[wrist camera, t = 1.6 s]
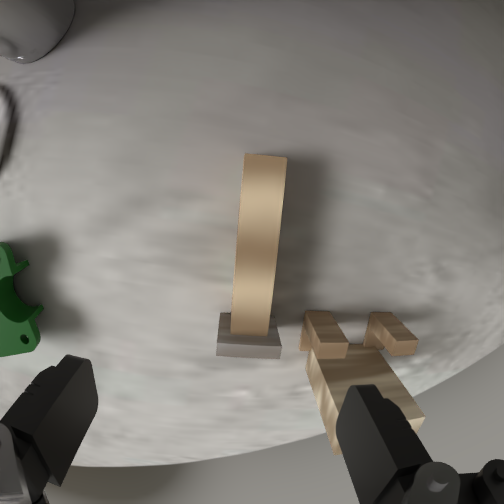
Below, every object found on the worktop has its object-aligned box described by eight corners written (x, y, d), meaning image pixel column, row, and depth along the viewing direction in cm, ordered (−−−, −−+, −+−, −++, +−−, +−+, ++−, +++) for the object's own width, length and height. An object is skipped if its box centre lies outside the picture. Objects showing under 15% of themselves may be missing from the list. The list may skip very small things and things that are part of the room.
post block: (305, 310, 28) (342, 390, 17) (391, 312, 29) (454, 377, 17) (294, 368, 30) (319, 456, 18) (375, 366, 31) (422, 439, 19)
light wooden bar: (231, 155, 25) (230, 150, 20) (291, 161, 25) (305, 158, 20) (219, 324, 29) (216, 355, 23) (272, 327, 29) (279, 359, 24)
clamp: (57, 301, 32) (48, 360, 25) (21, 310, 30) (8, 366, 24) (16, 217, 25) (-13, 270, 18) (-22, 232, 23) (-54, 284, 16)
